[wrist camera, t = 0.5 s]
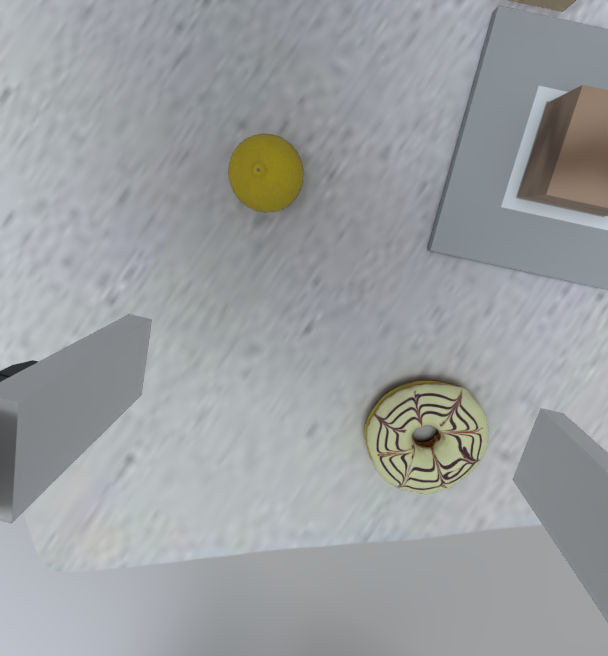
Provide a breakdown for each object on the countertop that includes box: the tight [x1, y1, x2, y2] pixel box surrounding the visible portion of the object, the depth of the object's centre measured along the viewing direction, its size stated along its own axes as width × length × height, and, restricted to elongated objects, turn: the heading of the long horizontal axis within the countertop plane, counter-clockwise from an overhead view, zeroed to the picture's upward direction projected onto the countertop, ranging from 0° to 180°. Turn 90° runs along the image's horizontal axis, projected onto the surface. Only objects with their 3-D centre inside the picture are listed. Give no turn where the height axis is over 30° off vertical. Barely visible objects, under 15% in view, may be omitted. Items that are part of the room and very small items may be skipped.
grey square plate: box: [427, 6, 608, 289], centre depth 36 cm, size 18×18×1 cm
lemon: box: [228, 134, 303, 212], centre depth 34 cm, size 6×6×8 cm
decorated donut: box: [365, 381, 489, 494], centre depth 41 cm, size 10×11×4 cm
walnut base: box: [518, 85, 608, 216], centre depth 33 cm, size 7×7×5 cm
